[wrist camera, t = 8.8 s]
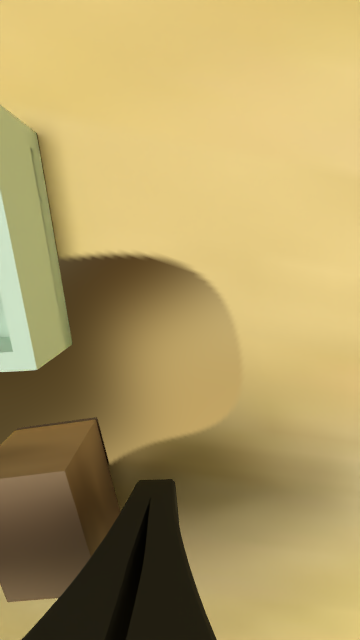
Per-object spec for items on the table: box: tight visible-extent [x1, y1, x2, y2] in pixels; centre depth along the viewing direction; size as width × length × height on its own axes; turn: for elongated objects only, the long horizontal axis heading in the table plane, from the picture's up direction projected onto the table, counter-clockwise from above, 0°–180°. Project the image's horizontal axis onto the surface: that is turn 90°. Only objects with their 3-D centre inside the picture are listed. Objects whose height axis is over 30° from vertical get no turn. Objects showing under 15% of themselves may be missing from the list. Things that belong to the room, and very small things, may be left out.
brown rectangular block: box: [0, 417, 120, 602], centre depth 11 cm, size 5×4×3 cm
